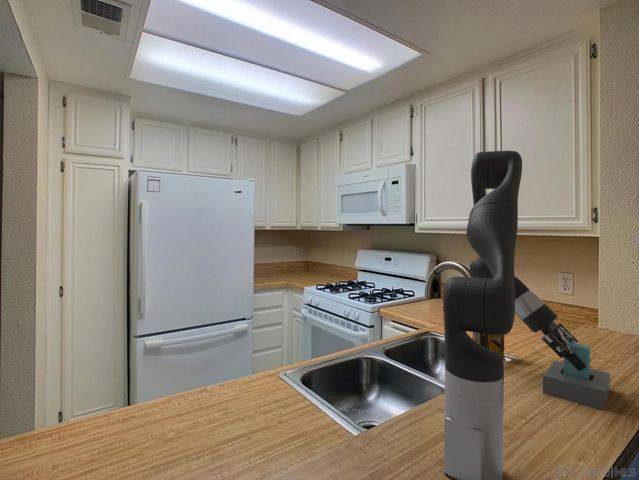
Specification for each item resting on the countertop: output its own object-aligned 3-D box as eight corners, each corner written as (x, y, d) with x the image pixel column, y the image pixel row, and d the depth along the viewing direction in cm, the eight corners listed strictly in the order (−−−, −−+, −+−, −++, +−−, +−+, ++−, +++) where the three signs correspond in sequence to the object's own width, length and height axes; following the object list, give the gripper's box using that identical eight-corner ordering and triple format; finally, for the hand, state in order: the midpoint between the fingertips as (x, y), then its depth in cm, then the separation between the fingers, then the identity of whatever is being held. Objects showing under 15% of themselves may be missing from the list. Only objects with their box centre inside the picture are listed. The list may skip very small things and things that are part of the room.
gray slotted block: (604, 410, 78) (604, 391, 78) (542, 392, 86) (543, 375, 86) (610, 390, 88) (610, 372, 88) (554, 376, 96) (554, 360, 96)
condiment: (505, 363, 106) (505, 325, 106) (475, 358, 110) (475, 321, 110) (505, 355, 112) (506, 319, 112) (477, 351, 116) (477, 316, 116)
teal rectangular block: (587, 396, 84) (588, 348, 84) (563, 390, 88) (564, 344, 88) (589, 392, 86) (590, 346, 86) (565, 386, 90) (566, 341, 90)
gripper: (537, 307, 87) (595, 365, 79) (549, 299, 97) (602, 350, 89) (513, 323, 91) (567, 381, 83) (528, 314, 101) (577, 364, 93)
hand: (585, 364), depth 86 cm, fingers open, 6 cm apart
